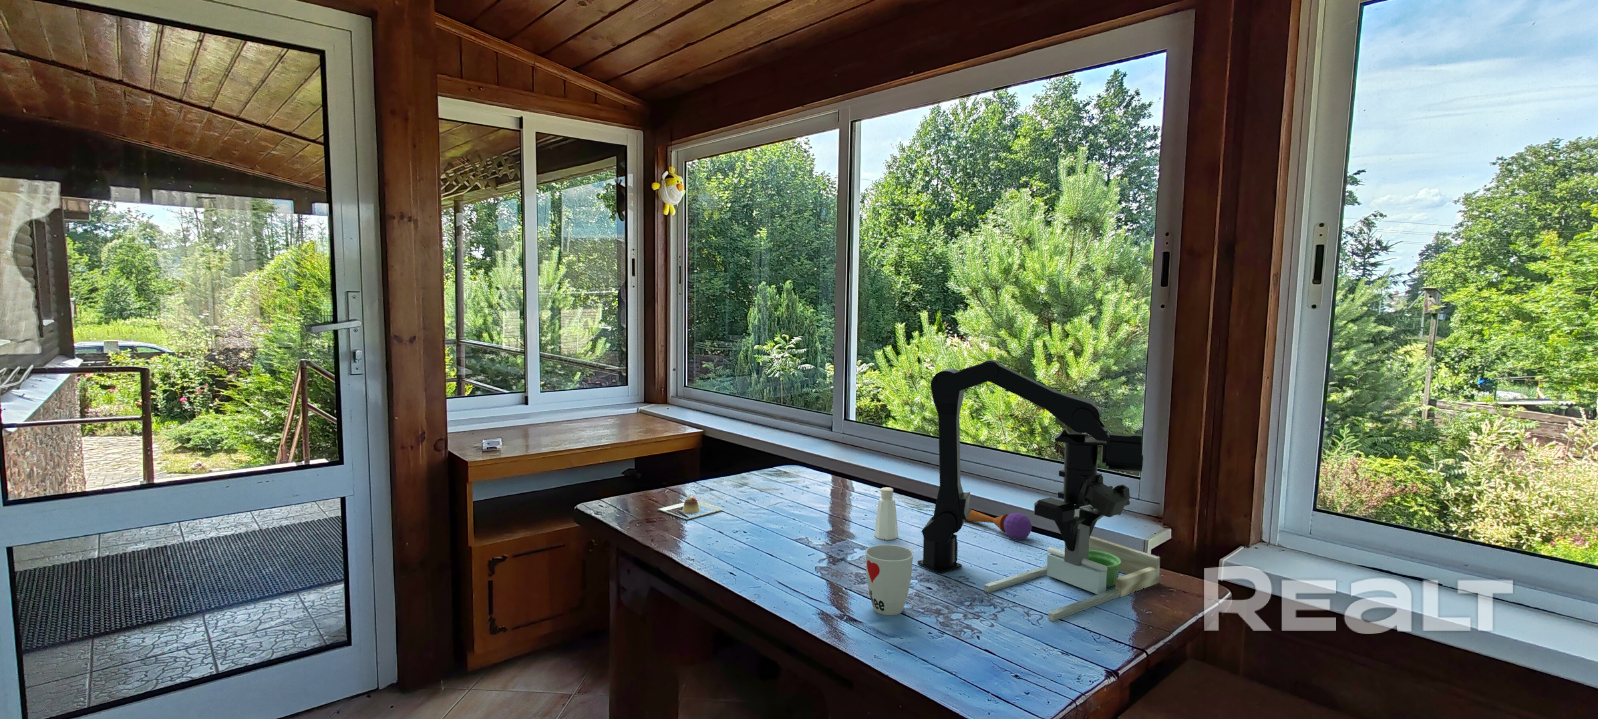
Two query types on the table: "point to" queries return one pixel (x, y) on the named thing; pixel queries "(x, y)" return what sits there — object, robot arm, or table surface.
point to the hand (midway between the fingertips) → (1076, 549)
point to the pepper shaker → (886, 516)
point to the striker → (1077, 565)
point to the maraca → (1006, 523)
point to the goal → (1139, 576)
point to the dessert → (691, 507)
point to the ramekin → (1110, 562)
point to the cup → (888, 577)
